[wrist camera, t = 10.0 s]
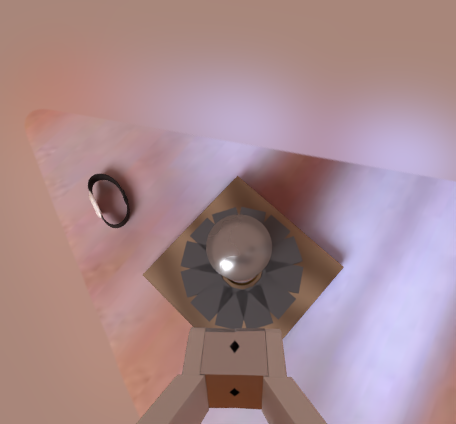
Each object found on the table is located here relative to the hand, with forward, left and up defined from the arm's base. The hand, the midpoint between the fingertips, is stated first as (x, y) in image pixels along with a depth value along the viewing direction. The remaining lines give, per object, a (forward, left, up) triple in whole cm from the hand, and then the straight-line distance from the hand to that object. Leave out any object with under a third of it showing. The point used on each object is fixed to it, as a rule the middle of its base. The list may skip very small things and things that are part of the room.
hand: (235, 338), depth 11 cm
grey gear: (-3, -2, -20) cm, 20 cm away
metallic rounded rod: (-3, -2, -27) cm, 27 cm away
